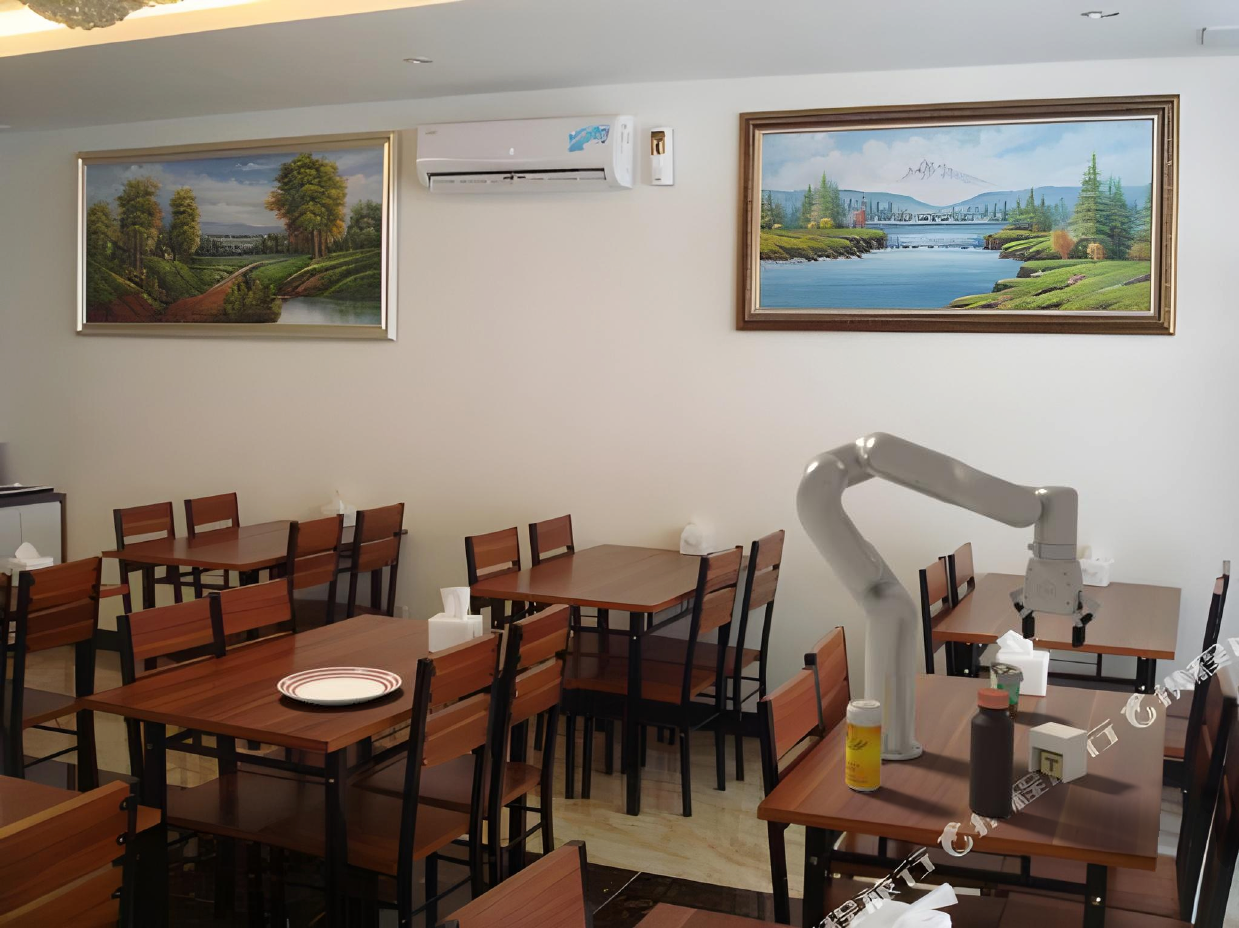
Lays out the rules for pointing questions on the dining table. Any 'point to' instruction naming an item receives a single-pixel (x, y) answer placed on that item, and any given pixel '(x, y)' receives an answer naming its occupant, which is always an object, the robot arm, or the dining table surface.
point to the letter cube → (1052, 763)
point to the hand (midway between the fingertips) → (1052, 642)
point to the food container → (1007, 683)
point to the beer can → (863, 744)
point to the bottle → (991, 755)
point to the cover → (1059, 748)
